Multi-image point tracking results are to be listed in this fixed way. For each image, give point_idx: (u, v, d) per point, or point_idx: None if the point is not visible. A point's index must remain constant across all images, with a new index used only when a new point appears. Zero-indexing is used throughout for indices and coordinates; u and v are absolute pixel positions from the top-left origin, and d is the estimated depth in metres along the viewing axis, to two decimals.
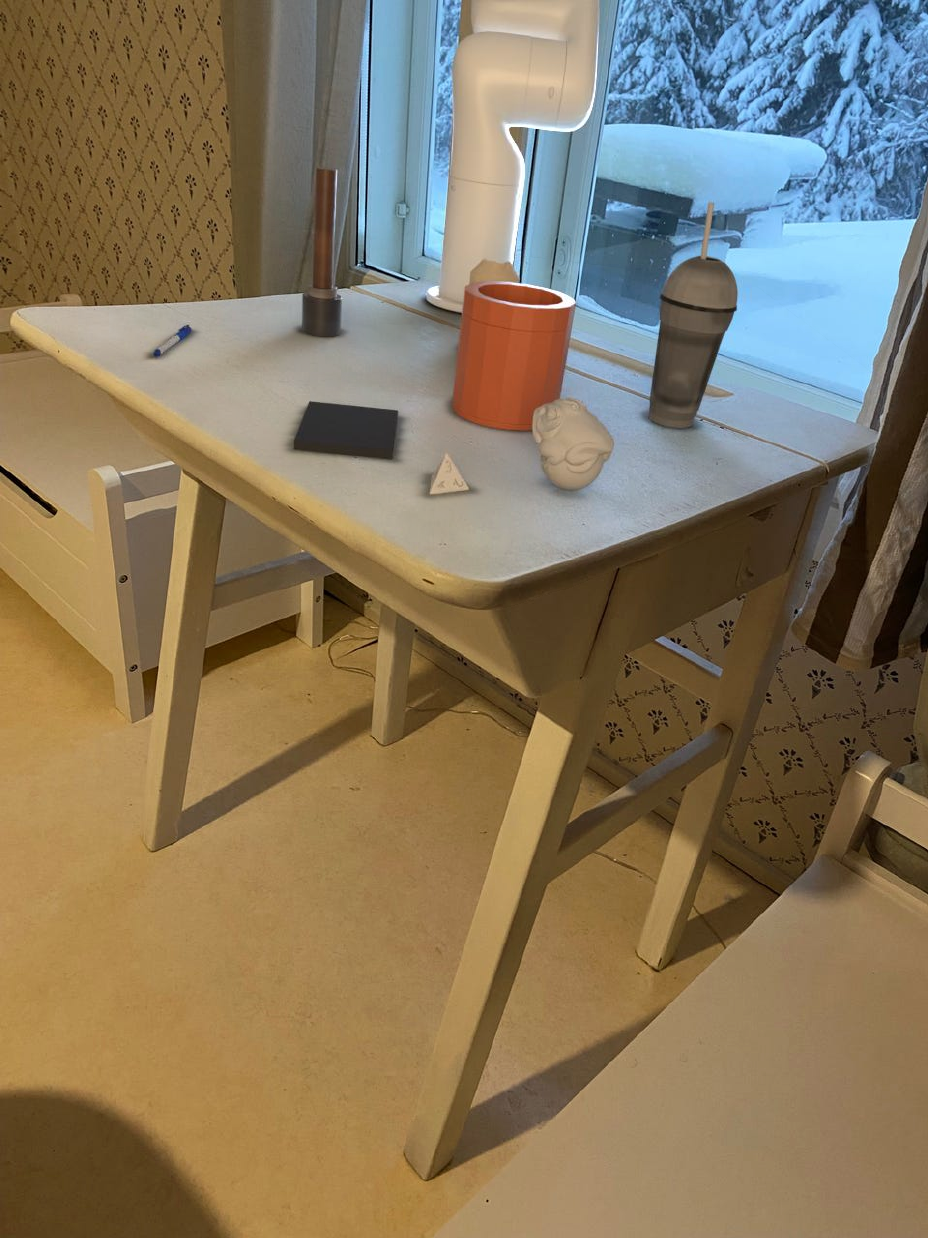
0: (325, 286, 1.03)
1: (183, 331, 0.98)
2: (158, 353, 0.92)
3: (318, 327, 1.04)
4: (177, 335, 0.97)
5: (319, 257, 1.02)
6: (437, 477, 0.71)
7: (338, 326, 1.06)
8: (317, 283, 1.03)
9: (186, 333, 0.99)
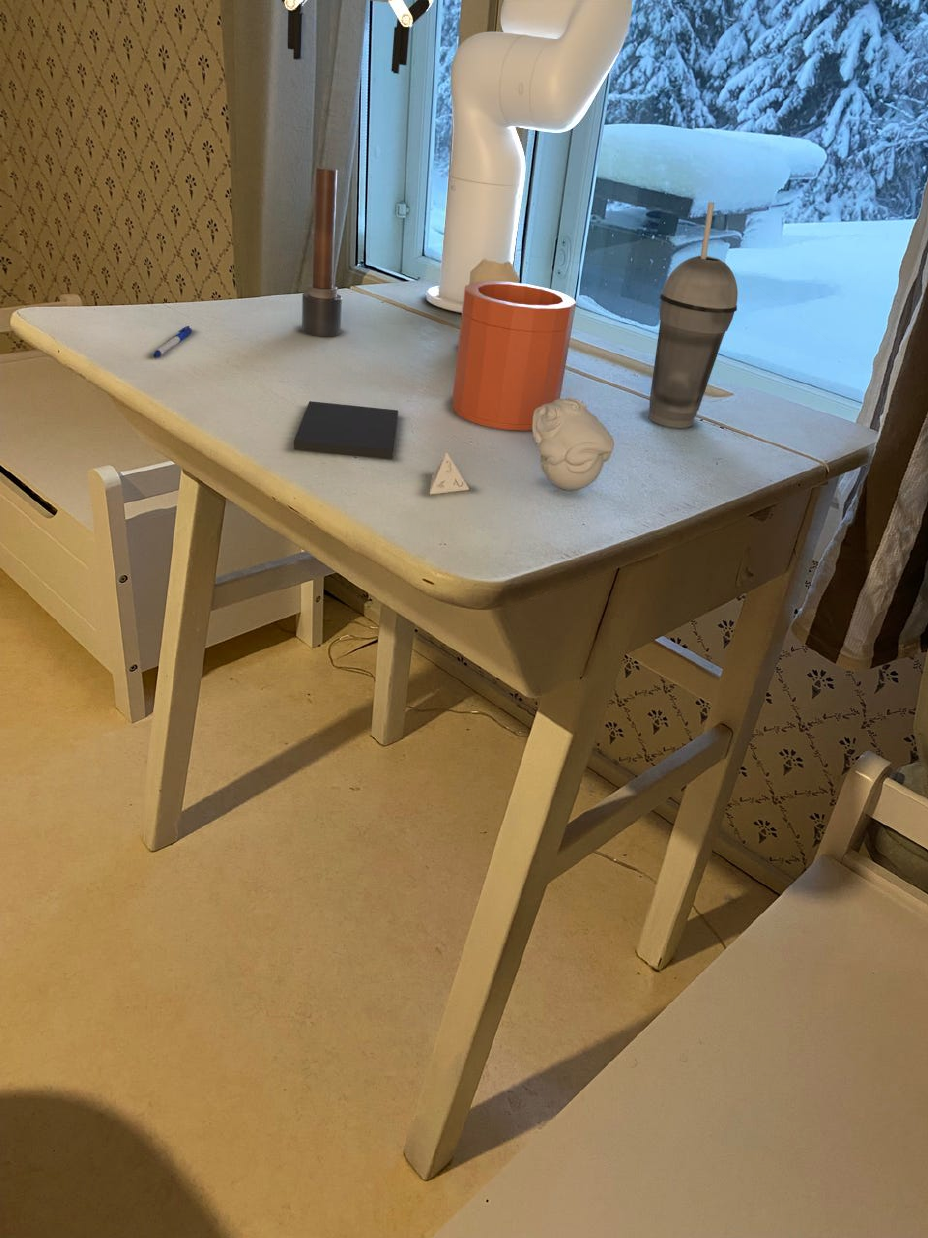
0: (325, 286, 1.03)
1: (183, 332, 0.98)
2: (158, 354, 0.92)
3: (318, 327, 1.04)
4: (177, 336, 0.97)
5: (319, 257, 1.02)
6: (437, 477, 0.71)
7: (338, 326, 1.06)
8: (317, 283, 1.03)
9: (186, 334, 0.99)
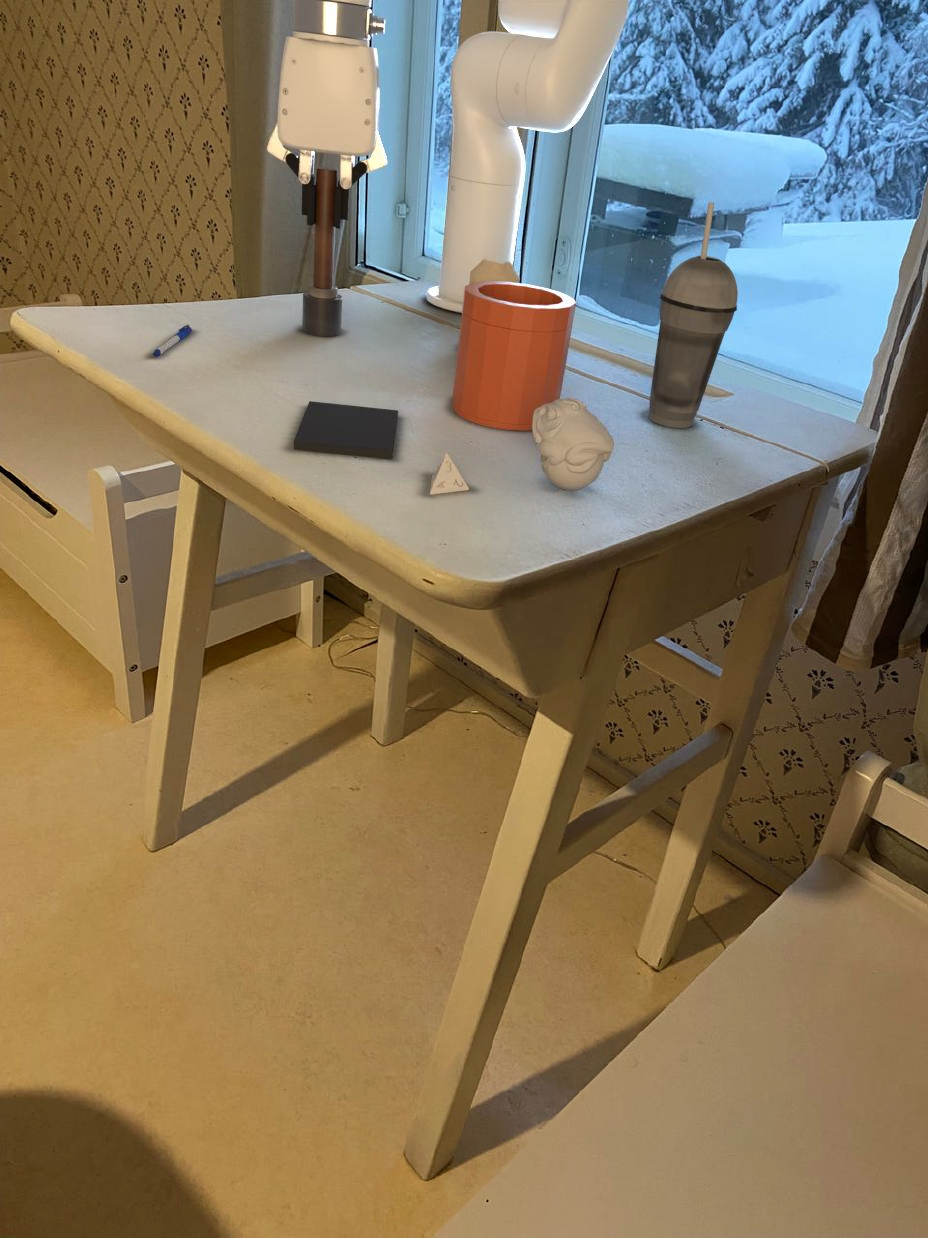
0: (325, 286, 1.03)
1: (183, 331, 0.98)
2: (158, 353, 0.92)
3: (318, 327, 1.04)
4: (177, 335, 0.97)
5: (319, 257, 1.02)
6: (437, 477, 0.71)
7: (338, 326, 1.06)
8: (317, 283, 1.03)
9: (186, 333, 0.99)
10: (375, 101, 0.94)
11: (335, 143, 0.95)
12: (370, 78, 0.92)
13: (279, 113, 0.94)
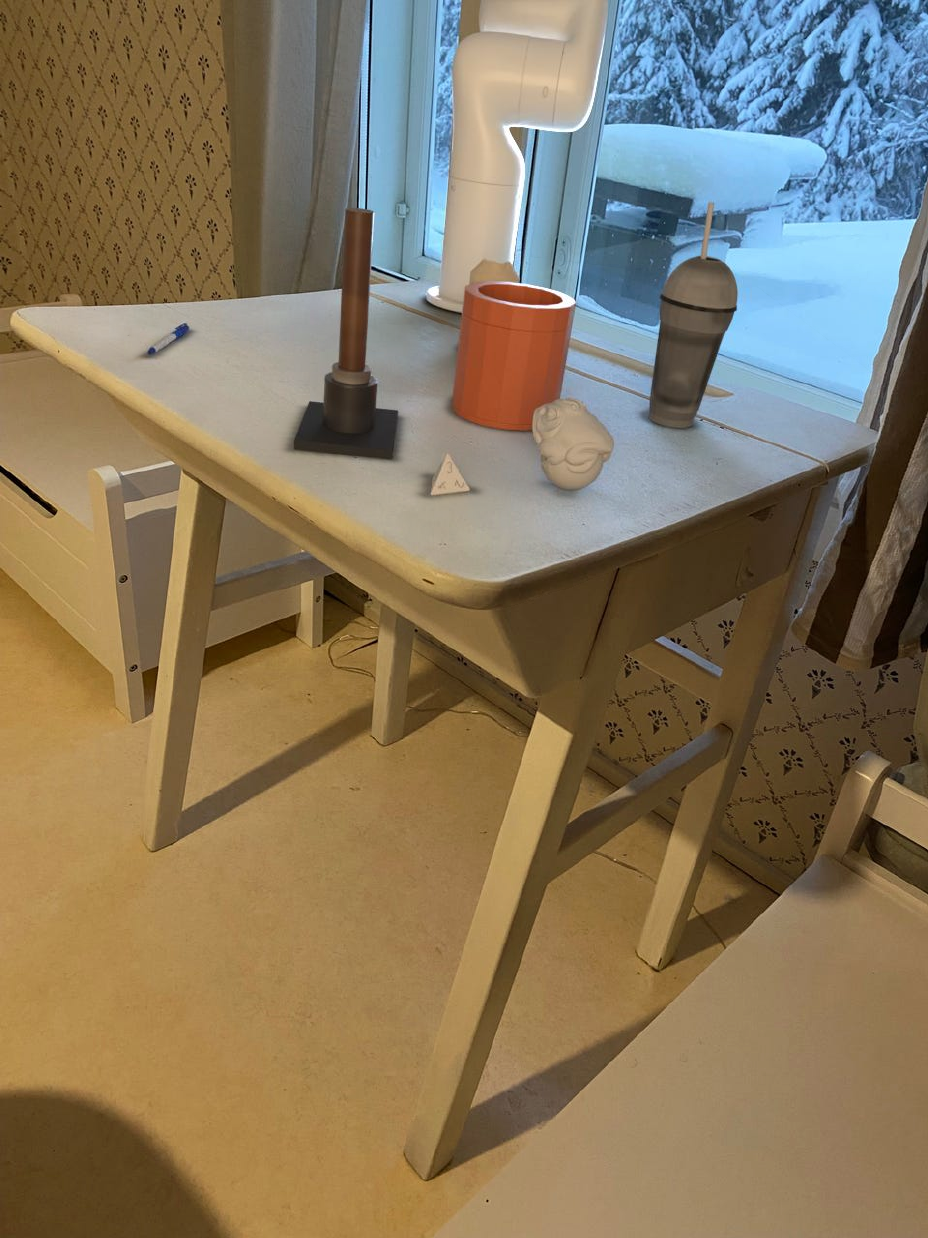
0: (356, 368, 0.76)
1: (180, 329, 0.98)
2: (152, 351, 0.92)
3: (345, 422, 0.77)
4: (173, 333, 0.97)
5: (348, 330, 0.74)
6: (438, 478, 0.71)
7: (372, 419, 0.78)
8: (345, 364, 0.76)
9: (183, 331, 0.99)
10: None
11: None
12: None
13: None
